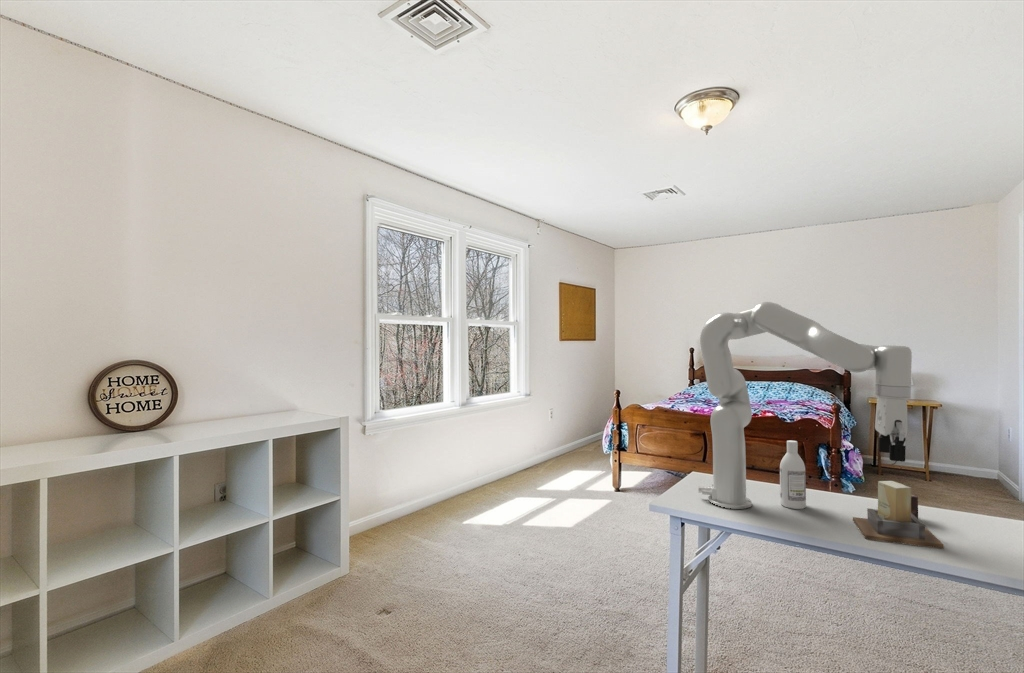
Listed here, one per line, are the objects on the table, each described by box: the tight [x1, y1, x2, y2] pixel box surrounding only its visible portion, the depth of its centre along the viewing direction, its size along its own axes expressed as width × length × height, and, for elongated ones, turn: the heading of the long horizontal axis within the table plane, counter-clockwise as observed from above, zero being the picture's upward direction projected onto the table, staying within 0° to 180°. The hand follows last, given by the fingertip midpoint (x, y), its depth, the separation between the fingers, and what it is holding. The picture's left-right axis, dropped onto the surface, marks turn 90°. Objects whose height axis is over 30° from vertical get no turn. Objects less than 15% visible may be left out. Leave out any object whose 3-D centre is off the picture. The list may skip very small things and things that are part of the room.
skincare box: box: [877, 480, 912, 523], centre depth 132 cm, size 6×4×12 cm
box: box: [911, 493, 919, 520], centre depth 143 cm, size 6×6×7 cm
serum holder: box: [852, 507, 945, 549], centre depth 132 cm, size 16×14×4 cm
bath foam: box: [779, 439, 807, 510], centre depth 155 cm, size 7×7×20 cm
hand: (891, 456), depth 133 cm, fingers open, 9 cm apart
